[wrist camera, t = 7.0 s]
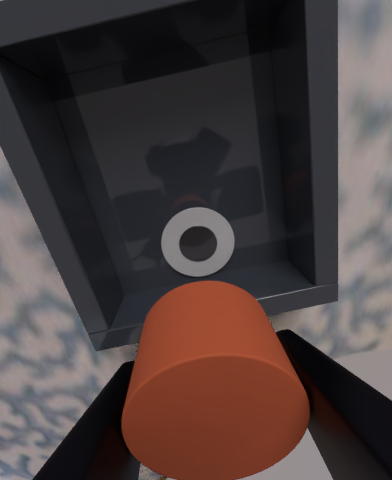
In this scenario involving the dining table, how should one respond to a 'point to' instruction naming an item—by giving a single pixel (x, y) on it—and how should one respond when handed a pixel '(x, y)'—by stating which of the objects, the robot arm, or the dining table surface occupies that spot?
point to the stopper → (212, 387)
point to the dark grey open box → (175, 148)
